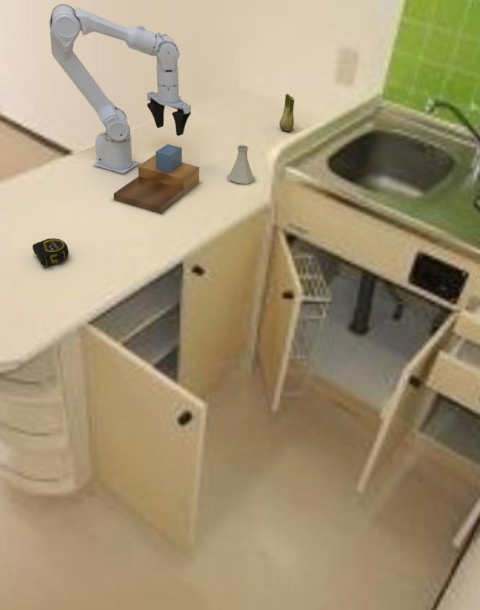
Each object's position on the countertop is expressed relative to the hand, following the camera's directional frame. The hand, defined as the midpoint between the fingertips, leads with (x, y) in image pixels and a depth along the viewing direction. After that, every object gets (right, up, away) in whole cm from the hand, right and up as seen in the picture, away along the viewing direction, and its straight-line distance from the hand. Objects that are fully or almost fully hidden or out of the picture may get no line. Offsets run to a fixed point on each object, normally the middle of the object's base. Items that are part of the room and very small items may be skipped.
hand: (170, 130), depth 184 cm
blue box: (+1, -12, -6) cm, 13 cm away
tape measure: (-18, -40, -40) cm, 59 cm away
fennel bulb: (-1, +17, +34) cm, 37 cm away
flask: (+20, -13, +4) cm, 24 cm away
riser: (-1, -19, -7) cm, 20 cm away
